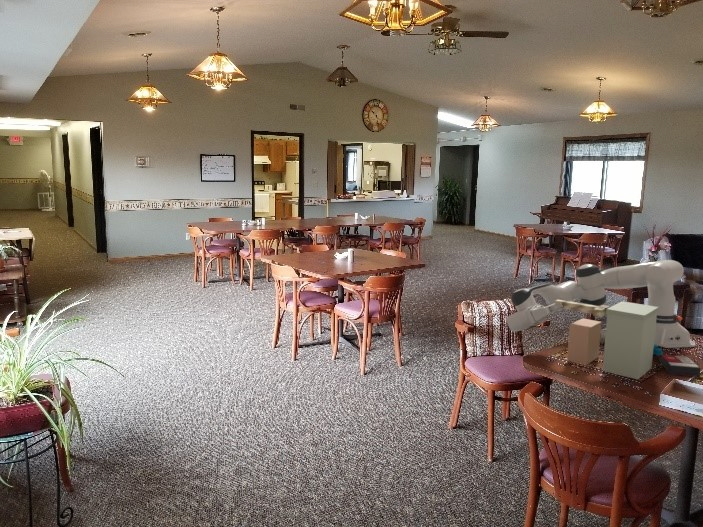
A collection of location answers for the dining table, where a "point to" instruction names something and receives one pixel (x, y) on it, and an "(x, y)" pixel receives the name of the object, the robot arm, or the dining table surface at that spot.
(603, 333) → the ceramic sculpture
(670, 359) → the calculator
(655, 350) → the gear
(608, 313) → the tall pale green box
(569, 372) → the dining table surface
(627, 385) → the dining table surface
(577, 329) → the light brown box
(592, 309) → the wooden key
